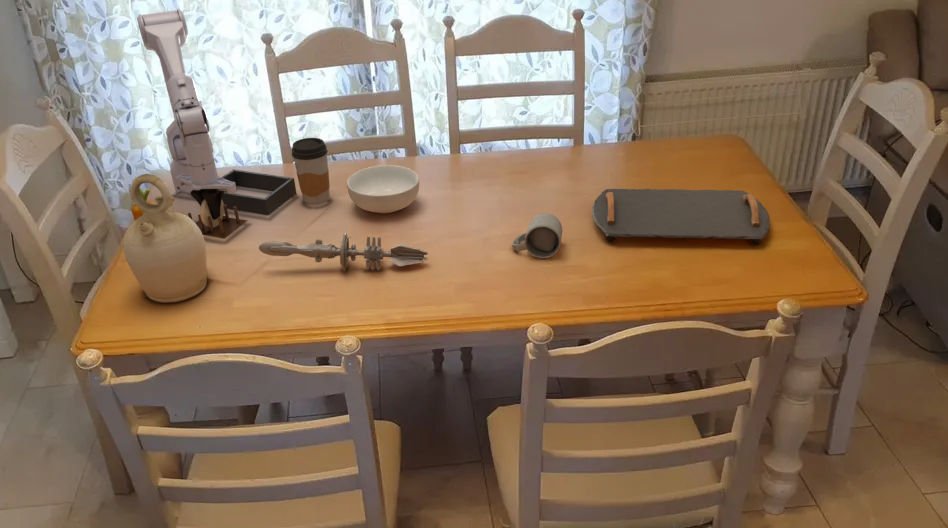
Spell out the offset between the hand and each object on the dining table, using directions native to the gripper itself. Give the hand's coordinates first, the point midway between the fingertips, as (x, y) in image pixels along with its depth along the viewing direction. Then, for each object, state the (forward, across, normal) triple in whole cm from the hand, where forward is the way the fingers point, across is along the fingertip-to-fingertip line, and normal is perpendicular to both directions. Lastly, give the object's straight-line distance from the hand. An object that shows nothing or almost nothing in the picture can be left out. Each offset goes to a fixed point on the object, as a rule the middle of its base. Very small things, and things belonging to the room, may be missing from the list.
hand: (213, 217), depth 193 cm
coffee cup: (+4, +15, +20) cm, 25 cm away
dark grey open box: (+3, 0, +15) cm, 15 cm away
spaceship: (+4, +37, -6) cm, 38 cm away
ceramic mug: (+4, +73, +14) cm, 74 cm away
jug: (+4, +7, -24) cm, 25 cm away
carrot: (+4, -8, -12) cm, 15 cm away
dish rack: (+3, 0, 0) cm, 3 cm away
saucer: (+2, 0, 0) cm, 2 cm away
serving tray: (+4, +99, +36) cm, 105 cm away
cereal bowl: (+4, +32, +23) cm, 40 cm away
